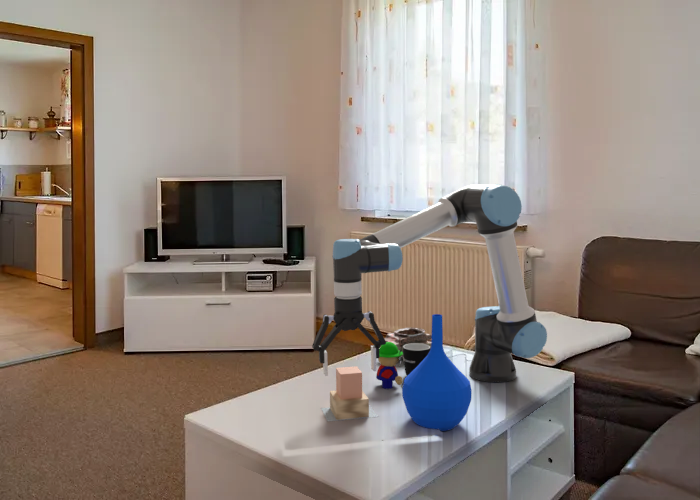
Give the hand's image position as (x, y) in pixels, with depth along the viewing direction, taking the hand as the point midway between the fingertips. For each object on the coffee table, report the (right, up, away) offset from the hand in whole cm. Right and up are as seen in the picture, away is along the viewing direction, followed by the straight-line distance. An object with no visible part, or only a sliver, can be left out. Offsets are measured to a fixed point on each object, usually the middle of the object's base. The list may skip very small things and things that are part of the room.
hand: (349, 372), depth 178 cm
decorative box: (+21, -6, +57) cm, 61 cm away
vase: (+23, -13, -5) cm, 27 cm away
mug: (+23, -9, +35) cm, 43 cm away
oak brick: (0, -11, +1) cm, 11 cm away
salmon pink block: (0, -6, +1) cm, 6 cm away
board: (0, -13, +1) cm, 13 cm away
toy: (+12, -10, +23) cm, 28 cm away
